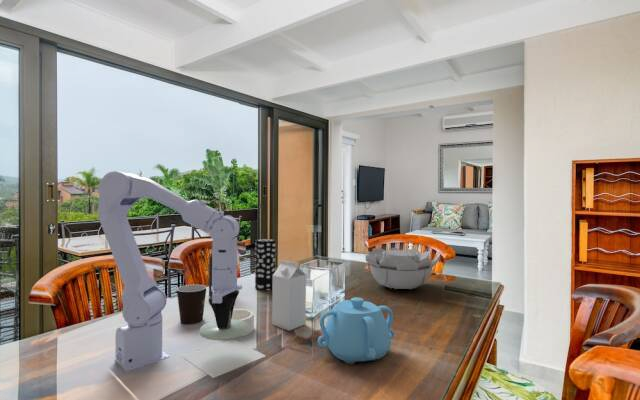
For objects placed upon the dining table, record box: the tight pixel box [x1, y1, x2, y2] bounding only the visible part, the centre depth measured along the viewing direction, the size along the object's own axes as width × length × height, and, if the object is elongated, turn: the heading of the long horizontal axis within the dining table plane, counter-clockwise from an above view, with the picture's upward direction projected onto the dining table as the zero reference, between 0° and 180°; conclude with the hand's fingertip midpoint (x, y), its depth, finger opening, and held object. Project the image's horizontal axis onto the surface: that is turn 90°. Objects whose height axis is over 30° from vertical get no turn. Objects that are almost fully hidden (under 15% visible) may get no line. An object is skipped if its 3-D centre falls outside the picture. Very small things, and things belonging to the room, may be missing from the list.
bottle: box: [208, 242, 213, 297], centre depth 136 cm, size 7×7×20 cm
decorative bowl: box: [365, 247, 441, 290], centre depth 149 cm, size 30×30×15 cm
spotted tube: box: [254, 238, 277, 292], centre depth 146 cm, size 8×8×20 cm
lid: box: [199, 311, 248, 341], centre depth 83 cm, size 11×11×4 cm
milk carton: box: [271, 259, 307, 332], centre depth 105 cm, size 7×7×19 cm
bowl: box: [231, 308, 255, 338], centre depth 100 cm, size 10×10×5 cm
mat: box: [182, 338, 267, 379], centre depth 83 cm, size 14×14×1 cm
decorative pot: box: [317, 297, 395, 364], centre depth 86 cm, size 16×16×14 cm
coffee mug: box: [176, 284, 207, 325], centre depth 110 cm, size 12×9×10 cm
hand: (224, 324), depth 83 cm, fingers closed on lid, 3 cm apart
